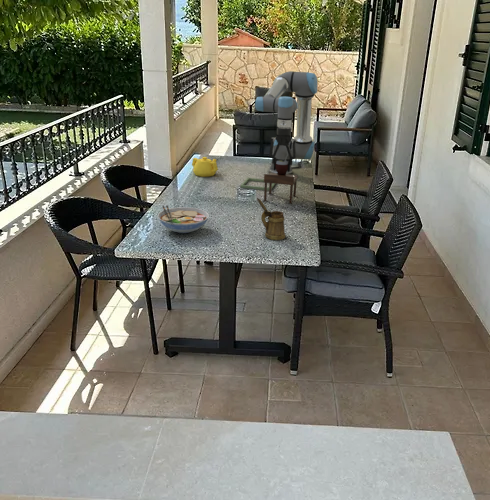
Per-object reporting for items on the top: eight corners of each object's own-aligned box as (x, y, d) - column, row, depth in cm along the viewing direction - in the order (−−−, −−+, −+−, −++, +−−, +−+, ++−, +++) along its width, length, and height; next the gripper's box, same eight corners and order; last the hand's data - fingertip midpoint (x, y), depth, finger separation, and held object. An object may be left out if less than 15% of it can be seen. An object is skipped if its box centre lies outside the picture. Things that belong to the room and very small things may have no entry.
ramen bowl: (213, 239, 220) (213, 221, 217) (160, 242, 214) (159, 224, 211) (204, 219, 242) (204, 203, 239) (155, 222, 236) (154, 205, 233)
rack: (268, 193, 289) (270, 167, 283) (296, 196, 286) (298, 170, 280) (263, 201, 274) (264, 174, 268) (292, 204, 271) (293, 177, 266)
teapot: (228, 173, 324) (228, 156, 319) (210, 179, 309) (210, 161, 305) (203, 168, 333) (203, 151, 329) (185, 173, 319) (184, 156, 315)
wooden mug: (254, 232, 230) (256, 194, 223) (284, 233, 231) (286, 195, 224) (255, 240, 222) (257, 200, 215) (286, 240, 223) (288, 201, 216)
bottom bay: (247, 180, 312) (247, 177, 312) (276, 182, 309) (276, 180, 309) (240, 187, 296) (240, 185, 295) (270, 190, 293) (270, 188, 292)
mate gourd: (272, 175, 274) (273, 147, 268) (281, 172, 280) (283, 145, 274) (282, 177, 270) (284, 149, 264) (292, 175, 275) (293, 147, 269)
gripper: (264, 127, 263) (262, 170, 272) (302, 130, 260) (298, 173, 269) (266, 124, 270) (265, 167, 279) (304, 127, 267) (300, 170, 276)
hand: (281, 170), depth 274 cm, fingers closed on mate gourd, 7 cm apart
